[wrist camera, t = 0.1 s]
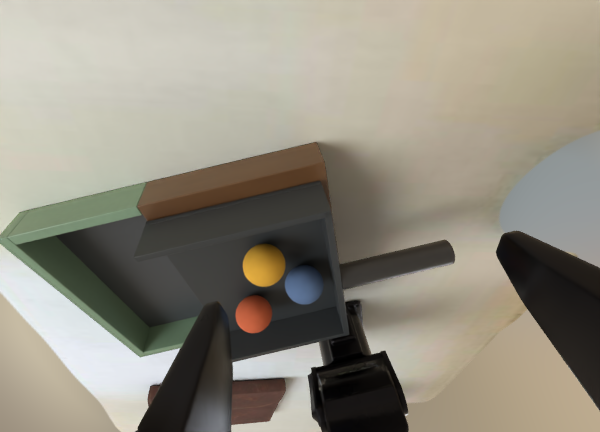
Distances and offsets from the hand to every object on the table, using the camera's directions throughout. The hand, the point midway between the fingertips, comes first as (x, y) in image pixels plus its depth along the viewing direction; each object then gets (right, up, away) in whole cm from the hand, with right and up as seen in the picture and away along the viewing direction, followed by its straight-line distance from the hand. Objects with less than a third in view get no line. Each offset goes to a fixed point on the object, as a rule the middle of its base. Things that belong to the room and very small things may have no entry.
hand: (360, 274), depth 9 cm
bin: (-16, -3, +19) cm, 25 cm away
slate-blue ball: (-2, -4, +16) cm, 16 cm away
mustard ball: (-5, -2, +13) cm, 14 cm away
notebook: (-16, -29, +41) cm, 52 cm away
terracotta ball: (-6, -7, +17) cm, 20 cm away
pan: (-1, -2, +17) cm, 17 cm away
